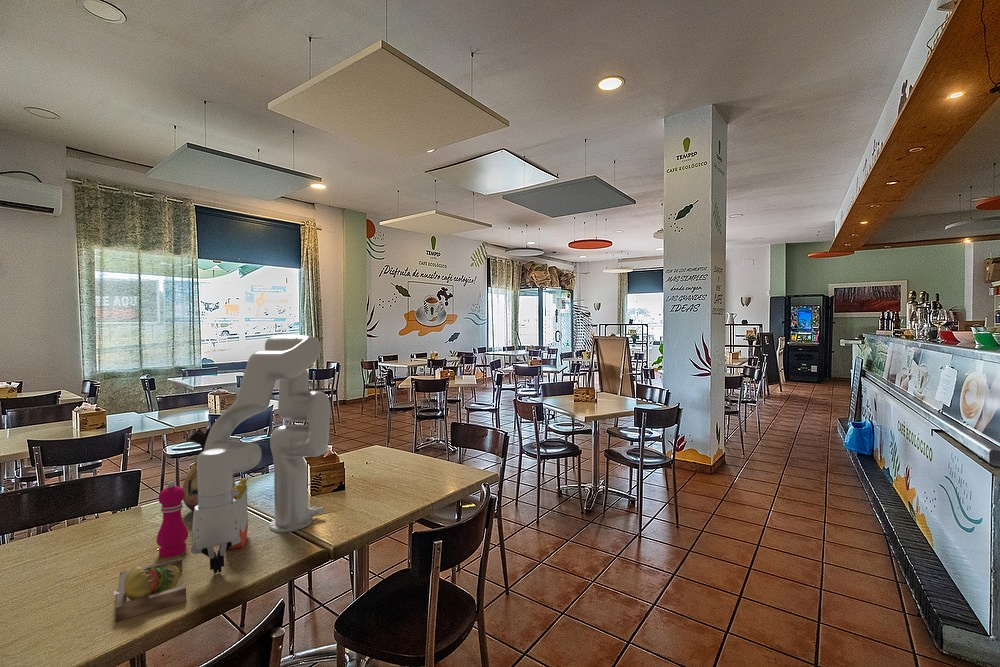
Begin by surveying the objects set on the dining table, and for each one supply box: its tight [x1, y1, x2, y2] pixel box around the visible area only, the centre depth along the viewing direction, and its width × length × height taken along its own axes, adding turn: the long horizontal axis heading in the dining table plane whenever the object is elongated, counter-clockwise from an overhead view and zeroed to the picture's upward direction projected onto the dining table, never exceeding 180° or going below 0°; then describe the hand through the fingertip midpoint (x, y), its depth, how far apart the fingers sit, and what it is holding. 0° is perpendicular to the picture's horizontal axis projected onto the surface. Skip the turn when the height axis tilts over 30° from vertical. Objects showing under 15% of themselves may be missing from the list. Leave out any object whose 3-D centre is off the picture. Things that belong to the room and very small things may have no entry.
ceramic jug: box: [182, 424, 237, 513], centre depth 160 cm, size 17×15×30 cm
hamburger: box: [113, 566, 181, 601], centre depth 108 cm, size 8×7×12 cm
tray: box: [115, 556, 187, 622], centre depth 112 cm, size 12×18×3 cm
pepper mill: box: [156, 480, 189, 559], centre depth 131 cm, size 7×7×20 cm
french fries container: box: [228, 477, 249, 550], centre depth 136 cm, size 5×11×18 cm, turn 19°
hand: (217, 570), depth 120 cm, fingers closed
